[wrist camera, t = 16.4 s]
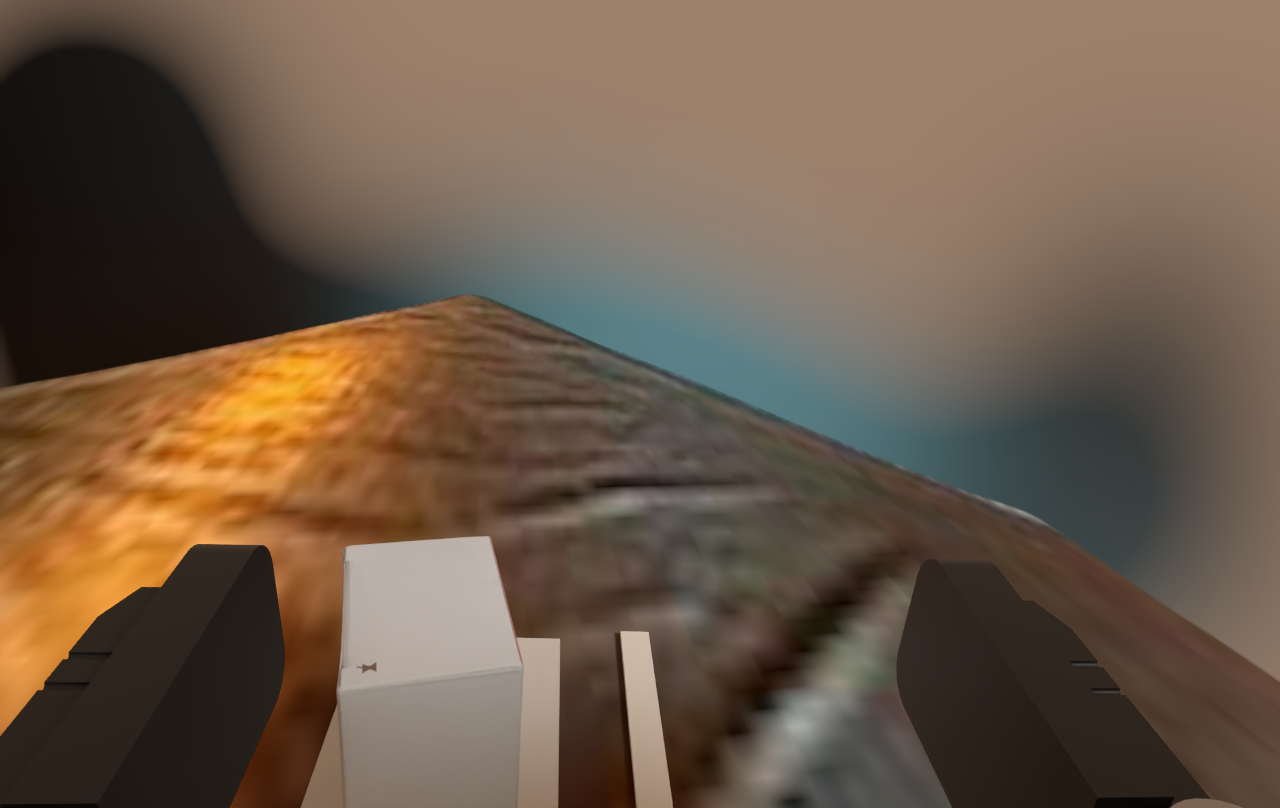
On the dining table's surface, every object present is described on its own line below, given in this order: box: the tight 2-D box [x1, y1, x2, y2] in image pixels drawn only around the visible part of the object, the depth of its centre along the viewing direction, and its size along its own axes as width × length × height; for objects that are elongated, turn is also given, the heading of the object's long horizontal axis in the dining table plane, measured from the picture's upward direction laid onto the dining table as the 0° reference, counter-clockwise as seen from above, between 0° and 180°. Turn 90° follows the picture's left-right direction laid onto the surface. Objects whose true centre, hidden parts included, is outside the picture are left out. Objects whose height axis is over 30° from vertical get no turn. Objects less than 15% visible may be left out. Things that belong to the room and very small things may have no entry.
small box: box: [336, 536, 524, 808], centre depth 30 cm, size 8×6×10 cm
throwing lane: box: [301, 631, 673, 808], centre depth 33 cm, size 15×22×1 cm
